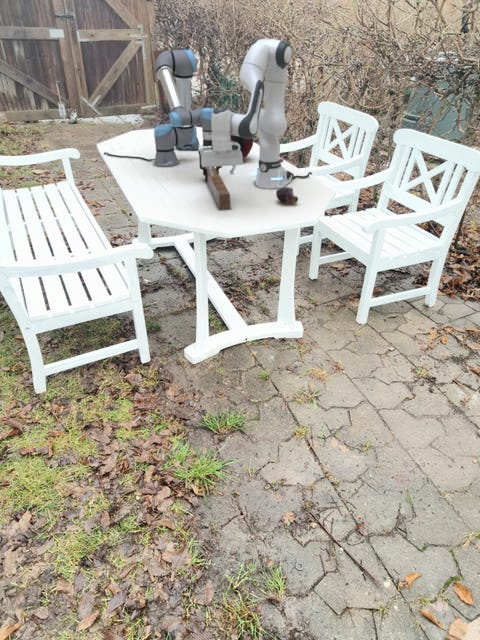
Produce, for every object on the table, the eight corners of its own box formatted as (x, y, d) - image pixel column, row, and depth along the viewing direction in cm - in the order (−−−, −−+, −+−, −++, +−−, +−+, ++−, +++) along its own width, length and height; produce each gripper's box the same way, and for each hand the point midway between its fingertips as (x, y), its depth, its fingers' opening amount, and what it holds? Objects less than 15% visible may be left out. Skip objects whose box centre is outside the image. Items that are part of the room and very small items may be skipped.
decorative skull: (214, 132, 305) (214, 129, 282) (248, 124, 304) (250, 121, 281) (221, 164, 312) (221, 164, 288) (254, 157, 311) (257, 156, 288)
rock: (287, 200, 238) (271, 203, 234) (287, 184, 235) (271, 186, 231) (300, 203, 229) (283, 206, 225) (300, 186, 225) (283, 189, 221)
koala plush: (199, 150, 321) (197, 121, 310) (174, 151, 320) (171, 121, 309) (199, 144, 335) (197, 116, 324) (175, 145, 334) (172, 117, 323)
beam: (205, 179, 267) (205, 165, 262) (214, 178, 268) (214, 165, 263) (219, 210, 225) (219, 194, 221) (230, 209, 226) (229, 194, 222)
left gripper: (193, 141, 245) (196, 183, 259) (226, 139, 248) (227, 181, 262) (192, 138, 252) (194, 179, 265) (224, 136, 254) (225, 177, 268)
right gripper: (200, 148, 208) (202, 178, 216) (243, 145, 212) (243, 175, 219) (198, 145, 213) (200, 174, 221) (240, 142, 217) (241, 171, 224)
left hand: (211, 180), depth 263 cm, fingers closed on beam, 5 cm apart
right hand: (222, 174), depth 220 cm, fingers open, 8 cm apart
